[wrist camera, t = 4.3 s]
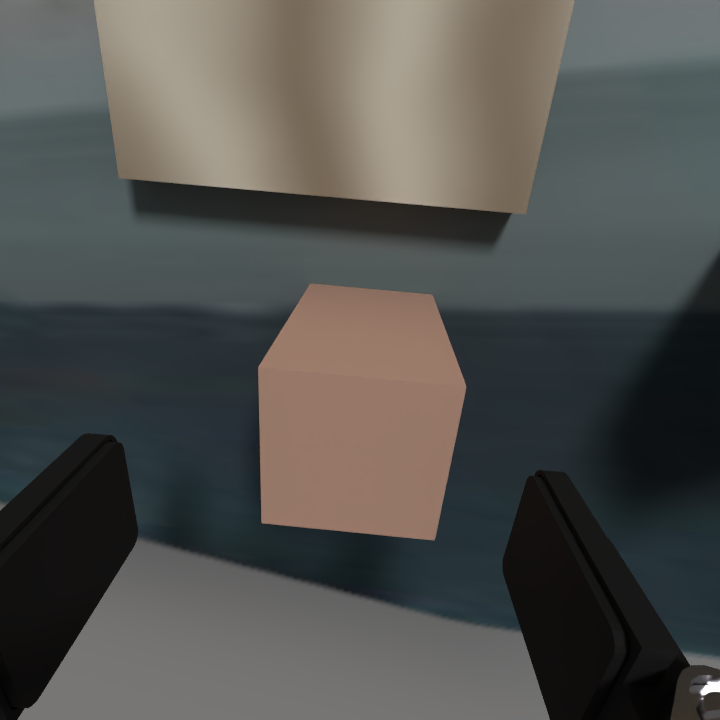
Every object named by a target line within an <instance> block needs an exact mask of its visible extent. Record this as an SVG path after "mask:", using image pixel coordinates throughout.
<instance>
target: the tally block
mask: <svg viewBox="0 0 720 720" xmlns="http://www.w3.org/2000/svg"><path fill="white" fill-rule="evenodd" d="M258 375H259V423H260V470H261V518H262V523H265V524H275V525H285V526H295V527H305V528H315V529H325V530H335V531H345V532H355V533H365V534H375V535H385V536H395V537H405V538H415V539H425V540H435V537H436V532H437V527H438V522H439V517H440V512H441V508H442V503H443V498H444V493H445V488H446V483H447V479H448V474H449V469H450V464H451V459H452V454H453V449H454V445H455V440H456V435H457V430H458V425H459V420H460V416H461V411H462V406H463V401H464V396H465V391H466V384H465V382H464V379H463V376H462V373H461V371H460V368H459V365H458V363H457V360H456V357H455V355H454V352H453V349H452V346H451V344H450V341H449V338H448V336H447V333H446V330H445V327H444V325H443V322H442V319H441V317H440V314H439V311H438V308H437V306H436V303H435V300H434V298H433V295H429V294H418V293H407V292H396V291H385V290H374V289H363V288H352V287H341V286H330V285H319V284H310V285H309V287H308V288H307V290H306V292H305V293H304V295H303V296H302V298H301V300H300V301H299V303H298V304H297V306H296V308H295V309H294V311H293V312H292V314H291V316H290V317H289V319H288V320H287V322H286V324H285V325H284V327H283V328H282V330H281V332H280V333H279V335H278V336H277V338H276V340H275V341H274V343H273V344H272V346H271V348H270V349H269V351H268V353H267V354H266V356H265V357H264V359H263V361H262V362H261V364H260V365H259V367H258Z"/></svg>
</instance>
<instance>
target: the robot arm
mask: <svg viewBox="0 0 720 720" xmlns="http://www.w3.org/2000/svg"><path fill="white" fill-rule="evenodd" d="M137 536H138V526H137V521H136V515H135V509H134V504H133V498H132V492H131V487H130V481H129V475H128V470H127V464H126V459H125V453H124V448H123V445H122V444H121V443H119V442H117V440H116V438H115V437H114V436H112V435H101V434H89V433H87V434H84V435H82V436H81V437H79V438H78V439H77V440H76V441H75V442H74V443H73V444H72V445H71V446H70V447H69V448H68V449H66V450H65V451H64V452H63V453H62V454H61V455H60V456H59V457H58V458H57V459H56V460H55V461H54V462H52V463H51V464H50V465H49V466H48V467H47V468H46V469H45V470H44V471H43V472H42V473H41V474H39V475H38V476H37V477H36V478H35V479H34V480H33V481H32V482H31V483H30V484H29V485H28V486H27V487H25V488H24V489H23V490H22V491H21V492H20V493H19V494H18V495H17V496H16V497H15V498H14V499H12V500H11V501H10V502H9V503H8V504H7V505H6V506H5V507H4V508H3V509H2V510H1V511H0V720H17V719H18V717H19V716H20V714H21V713H22V711H23V710H24V708H29V707H31V706H32V705H33V704H34V703H35V702H36V701H37V700H38V698H39V697H40V696H41V694H42V692H43V691H44V689H45V687H46V686H47V684H48V683H49V681H50V680H51V678H52V676H53V675H54V673H55V671H56V670H57V668H58V667H59V665H60V663H61V662H62V660H63V659H64V657H65V656H66V654H67V652H68V651H69V649H70V648H71V646H72V645H73V643H74V641H75V640H76V638H77V637H78V635H79V633H80V632H81V630H82V629H83V627H84V625H85V624H86V622H87V621H88V619H89V617H90V616H91V614H92V613H93V611H94V609H95V608H96V606H97V605H98V603H99V601H100V600H101V598H102V597H103V595H104V593H105V592H106V590H107V589H108V587H109V585H110V584H111V582H112V581H113V579H114V577H115V576H116V574H117V573H118V571H119V570H120V568H121V566H122V565H123V563H124V561H125V560H126V558H127V557H128V555H129V554H130V552H131V550H132V549H133V547H134V545H135V543H136V540H137ZM503 574H504V578H505V581H506V584H507V587H508V590H509V593H510V596H511V600H512V603H513V606H514V609H515V612H516V615H517V618H518V621H519V624H520V627H521V631H522V634H523V637H524V640H525V643H526V646H527V649H528V652H529V655H530V658H531V662H532V664H533V668H534V670H535V674H536V677H537V680H538V683H539V687H540V690H541V693H542V696H543V699H544V702H545V705H546V708H547V711H548V714H549V718H550V720H720V670H719V669H716V668H712V667H708V666H705V665H691V666H690V664H689V663H688V661H687V660H686V658H685V656H684V655H683V653H682V652H681V650H680V649H679V647H678V646H677V644H676V642H675V641H674V639H673V638H672V636H671V635H670V633H669V631H668V630H667V628H666V627H665V625H664V624H663V622H662V620H661V619H660V617H659V616H658V614H657V613H656V611H655V609H654V608H653V606H652V605H651V603H650V602H649V600H648V598H647V597H646V595H645V594H644V592H643V591H642V589H641V587H640V586H639V584H638V583H637V581H636V580H635V578H634V576H633V575H632V573H631V572H630V570H629V569H628V567H627V566H626V564H625V562H624V561H623V559H622V558H621V556H620V555H619V553H618V551H617V550H616V548H615V547H614V545H613V544H612V543H611V541H610V540H609V539H608V538H607V537H606V535H605V533H604V532H603V530H602V529H601V527H600V526H599V524H598V522H597V521H596V519H595V518H594V516H593V515H592V513H591V511H590V510H589V508H588V507H587V505H586V503H585V502H584V500H583V499H582V497H581V496H580V494H579V492H578V491H577V489H576V488H575V486H574V485H573V483H572V481H571V480H570V478H569V477H568V475H567V474H566V473H564V472H556V471H544V470H539V471H537V472H536V473H535V475H534V476H529V477H528V478H527V481H526V484H525V487H524V491H523V494H522V497H521V501H520V504H519V507H518V511H517V514H516V517H515V521H514V524H513V527H512V531H511V534H510V537H509V541H508V544H507V547H506V551H505V554H504V557H503Z"/></svg>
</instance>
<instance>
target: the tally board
mask: <svg viewBox="0 0 720 720" xmlns="http://www.w3.org/2000/svg"><path fill="white" fill-rule="evenodd" d="M574 1H575V0H94V5H95V12H96V19H97V26H98V33H99V40H100V47H101V54H102V61H103V68H104V76H105V83H106V90H107V97H108V104H109V111H110V118H111V125H112V132H113V139H114V146H115V153H116V160H117V167H118V174H119V178H122V179H134V180H145V181H156V182H167V183H179V184H190V185H201V186H213V187H224V188H235V189H246V190H258V191H269V192H280V193H292V194H303V195H314V196H325V197H337V198H348V199H359V200H370V201H382V202H393V203H404V204H416V205H427V206H438V207H449V208H461V209H472V210H483V211H494V212H506V213H517V214H526V211H527V207H528V203H529V198H530V194H531V190H532V185H533V181H534V176H535V172H536V168H537V163H538V159H539V155H540V150H541V146H542V141H543V137H544V133H545V128H546V124H547V120H548V115H549V111H550V106H551V102H552V98H553V93H554V89H555V85H556V80H557V76H558V71H559V67H560V63H561V58H562V54H563V49H564V45H565V41H566V36H567V32H568V28H569V23H570V19H571V14H572V10H573V6H574Z"/></svg>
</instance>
